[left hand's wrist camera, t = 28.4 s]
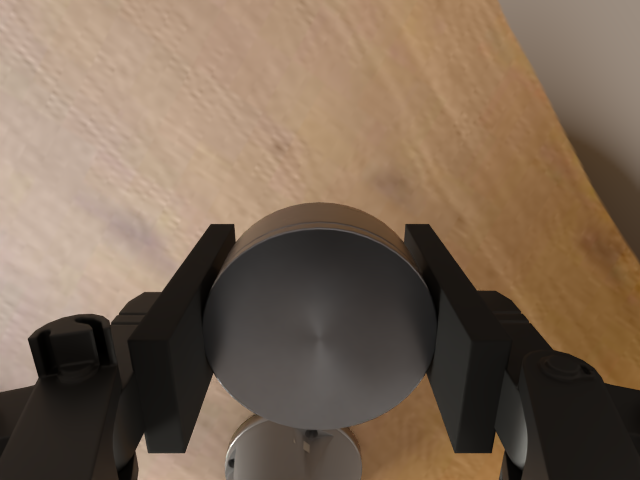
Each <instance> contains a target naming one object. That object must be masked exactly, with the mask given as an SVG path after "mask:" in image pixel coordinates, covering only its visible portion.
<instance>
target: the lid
mask: <svg viewBox="0 0 640 480" xmlns="http://www.w3.org/2000/svg"><path fill="white" fill-rule="evenodd" d="M437 327H438V322H437V314H436V309H435V305H434V302H433V298H432V296H431V294H430V291H429V289H428V287H427V285H426V283H425V281H424V279H423V277H422V275H421V273H420V271H419V269H418V267H417V265H416V263H415V261H414V259H413V257H412V255H411V253H410V251H409V250H408V248H407V247H406V245H405V244H404V242H403V241H402V240H401V239H400V238H399V236H398V235H397V234H396V233H395V232H394V231H393V230H392V229H390V228H389V227H388V226H387V225H386V224H385V223H383V222H382V221H380V220H378V219H377V218H375V217H374V216H372V215H370V214H368V213H366V212H363V211H361V210H359V209H355V208H352V207H349V206H345V205H340V204H335V203H320V202H318V203H304V204H299V205H294V206H290V207H287V208H284V209H281V210H278V211H276V212H274V213H272V214H270V215H268V216H266V217H264V218H262V219H261V220H259V221H258V222H256V223H255V224H254V225H252V226H251V227H250V228H249V229H248V230H247V231H246V232H244V233H243V235H242V236H241V237H240V238H239V239H238V240H237V242H236V243H235V244H234V246H233V248H232V249H231V251H230V252H229V254H228V256H227V258H226V260H225V262H224V264H223V266H222V268H221V270H220V272H219V274H218V276H217V278H216V280H215V282H214V284H213V286H212V288H211V290H210V292H209V295H208V297H207V299H206V303H205V307H204V310H203V317H202V330H203V340H204V348H205V354H206V357H207V360H208V362H209V365H210V367H211V369H212V371H213V373H214V375H215V376H216V378H217V379H218V381H219V382H220V383H221V385H222V386H223V387H224V389H225V390H226V391H227V392H228V393H229V394H230V395H231V396H232V397H233V398H234V399H235V400H237V401H238V402H239V403H240V404H241V405H243V406H244V407H246V408H247V409H249V410H250V411H252V412H253V413H255V414H257V415H259V416H261V417H263V418H265V419H267V420H270V421H273V422H275V423H278V424H281V425H285V426H289V427H293V428H300V429H308V430H331V429H339V428H346V427H350V426H354V425H358V424H362V423H364V422H367V421H369V420H372V419H375V418H376V417H378V416H380V415H382V414H384V413H386V412H388V411H389V410H391V409H392V408H394V407H395V406H397V405H398V404H399V403H400V402H402V401H403V400H404V399H405V398H406V397H407V396H409V394H410V393H411V392H412V391H413V390H414V389H415V388H416V387H417V386H418V384H419V383H420V381H421V380H422V378H423V377H424V375H425V374H426V372H427V370H428V368H429V366H430V364H431V361H432V358H433V355H434V352H435V345H436V337H437Z"/></svg>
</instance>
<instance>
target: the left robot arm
mask: <svg viewBox="0 0 640 480" xmlns="http://www.w3.org/2000/svg"><path fill="white" fill-rule="evenodd" d="M235 243H236V241H235V228H234V224H211V225H210V226H209V227H208V229H207V230H206V232H205V233H204V234H203V236H202V237H201V238H200V240H199V241H198V243H197V244H196V245H195V247H194V248H193V250H192V251H191V252H190V254H189V255H188V257H187V258H186V259H185V261H184V262H183V263H182V265H181V266H180V268H179V269H178V270H177V272H176V273H175V275H174V276H173V277H172V279H171V280H170V281H169V283H168V284H167V286H166V287H165V288H164V290H163V291H162V292H144V293H142V294H141V295H139V296H137V297H136V298H134V299H132V300H131V301H129V302H128V303H127V304H126V305H125V307H124V308H123V309H122V310H121V311H120V313H119V315H117V316H116V317H115V319H114V320H113V321H112V322H111V325H110V322H109V320H108V319H106V318H105V317H104V316H100V315H95V314H78V315H73V316H69V317H64V318H61V319H58V320H55V321H53V322H50V323H48V324H46V325H44V326H43V327H41V328H39V329H38V330H36V331H35V332H34V333H33V334H32V335H31V336H30V337H29V338H28V341H29V345H30V348H31V352H32V356H33V359H34V363H35V366H36V370H37V373H38V377H39V378H38V380H37V382H36V384H35V385H33V386H29V387H25V388H20V389H15V390H10V391H5V392H0V480H137V478H138V462H137V457H136V452H135V450H136V448H137V446H138V444H139V442H140V440H141V438H142V436H143V434H145V439H146V445H147V450H148V453H185V452H186V449H187V446H188V443H189V440H190V437H191V435H192V432H193V429H194V426H195V423H196V421H197V418H198V415H199V412H200V409H201V406H202V404H203V401H204V398H205V395H206V392H207V390H208V387H209V384H210V381H211V378H212V375H213V371H212V369H211V367H210V365H209V362H208V360H207V357H206V354H205V348H204V340H203V330H202V317H203V310H204V307H205V303H206V299H207V297H208V295H209V292H210V290H211V288H212V286H213V284H214V282H215V280H216V278H217V276H218V274H219V272H220V270H221V268H222V266H223V264H224V262H225V260H226V258H227V256H228V254H229V252H230V251H231V249H232V248H233V246H234V244H235ZM404 244H405V245H406V247H407V248H408V250H409V251H410V253H411V255H412V257H413V259H414V261H415V263H416V265H417V267H418V269H419V271H420V273H421V275H422V277H423V279H424V281H425V283H426V285H427V287H428V289H429V291H430V294H431V296H432V298H433V302H434V305H435V309H436V314H437V322H438V327H437V337H436V345H435V352H434V355H433V358H432V361H431V364H430V366H429V368H428V370H427V372H426V373H427V376H428V379H429V382H430V385H431V387H432V390H433V393H434V396H435V399H436V402H437V404H438V407H439V410H440V413H441V416H442V418H443V421H444V424H445V427H446V430H447V433H448V435H449V438H450V441H451V444H452V447H453V449H454V452H455V453H492V448H493V443H494V438H495V432H497V434H498V436H499V438H500V440H501V442H502V444H503V446H504V448H505V452H504V457H503V462H502V467H501V472H500V477H499V480H640V390H635V389H630V388H625V387H620V386H615V385H610V384H607V383H604V382H603V380H602V377H601V376H600V375H599V374H598V372H597V371H596V370H595V369H594V368H593V367H592V366H590V365H589V364H588V363H586V362H585V361H583V360H581V359H579V358H577V357H574V356H572V355H570V354H567V353H563V352H559V351H555V350H553V349H552V348H551V347H550V346H549V344H548V343H547V342H546V341H545V340H544V338H543V337H542V336H541V335H540V334H539V332H538V331H537V330H536V329H535V328H534V327H533V325H532V324H531V323H529V321H528V319H527V318H526V317H525V316H524V315H523V314H521V311H520V310H519V309H518V308H517V306H516V305H515V304H514V303H513V302H512V300H510V299H508V298H507V297H505V296H503V295H502V294H500V293H498V292H497V291H477V290H476V289H475V287H474V286H473V285H472V283H471V282H470V280H469V279H468V278H467V276H466V275H465V274H464V272H463V271H462V269H461V268H460V267H459V265H458V264H457V262H456V261H455V260H454V258H453V257H452V256H451V254H450V253H449V251H448V250H447V249H446V247H445V246H444V244H443V243H442V242H441V240H440V239H439V237H438V236H437V235H436V233H435V232H434V231H433V229H432V228H431V226H430V225H429V224H405V238H404ZM361 475H362V461H361V452H360V447H359V444H358V442H357V439H356V438H355V436H354V434H353V433H352V432H351V430H350V429H349V428H348V427H346V428H339V429H331V430H308V429H300V428H293V427H289V426H285V425H281V424H278V423H275V422H273V421H270V420H267V419H265V418H263V417H261V416H259V415H257V414H256V415H254V416H253V417H251V418H249V419H248V420H247V421H245V422H244V423H243V424H242V425H241V426H240V427H239V428H238V429H237V431H236V432H235V433H234V435H233V437H232V439H231V441H230V444H229V448H228V452H227V456H226V461H225V476H226V480H361Z"/></svg>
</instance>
